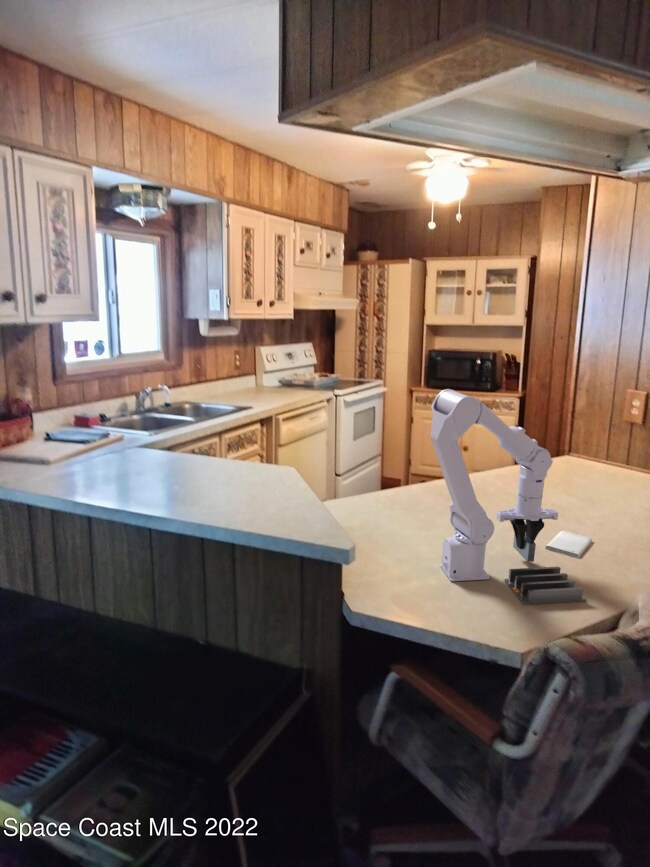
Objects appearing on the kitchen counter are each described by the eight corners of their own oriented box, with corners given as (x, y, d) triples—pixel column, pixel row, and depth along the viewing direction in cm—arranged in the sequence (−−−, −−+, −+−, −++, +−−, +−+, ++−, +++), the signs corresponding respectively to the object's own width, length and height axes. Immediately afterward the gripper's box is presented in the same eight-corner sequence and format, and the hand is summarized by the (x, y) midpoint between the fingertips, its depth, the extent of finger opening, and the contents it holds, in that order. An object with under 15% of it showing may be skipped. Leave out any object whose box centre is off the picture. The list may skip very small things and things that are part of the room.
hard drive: (578, 554, 151) (592, 537, 161) (545, 545, 156) (560, 529, 166) (577, 560, 152) (591, 543, 161) (544, 551, 157) (560, 535, 166)
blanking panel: (533, 561, 144) (535, 543, 143) (527, 561, 144) (529, 544, 142) (519, 546, 151) (521, 529, 150) (513, 546, 151) (514, 530, 150)
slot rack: (524, 604, 130) (525, 592, 129) (504, 581, 140) (505, 569, 139) (585, 601, 132) (587, 588, 131) (561, 578, 142) (563, 566, 141)
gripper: (507, 501, 139) (502, 555, 142) (567, 499, 141) (560, 553, 144) (495, 490, 146) (490, 543, 149) (552, 489, 147) (546, 540, 151)
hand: (523, 547), depth 147 cm, fingers closed on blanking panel, 2 cm apart
